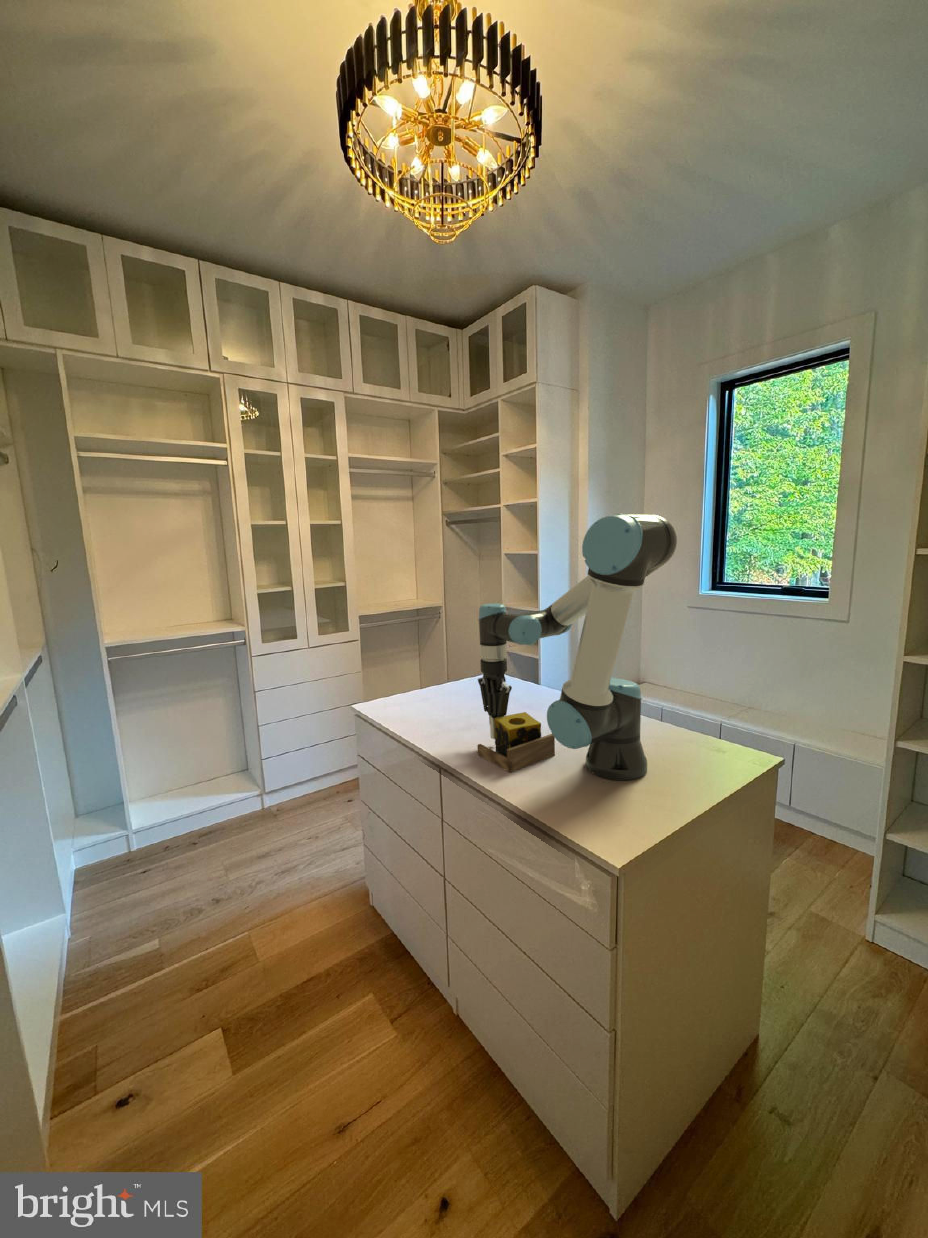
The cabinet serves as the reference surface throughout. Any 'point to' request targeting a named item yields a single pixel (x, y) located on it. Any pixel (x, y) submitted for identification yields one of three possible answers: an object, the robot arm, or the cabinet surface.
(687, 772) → the cabinet surface
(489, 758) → the dock
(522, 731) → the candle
